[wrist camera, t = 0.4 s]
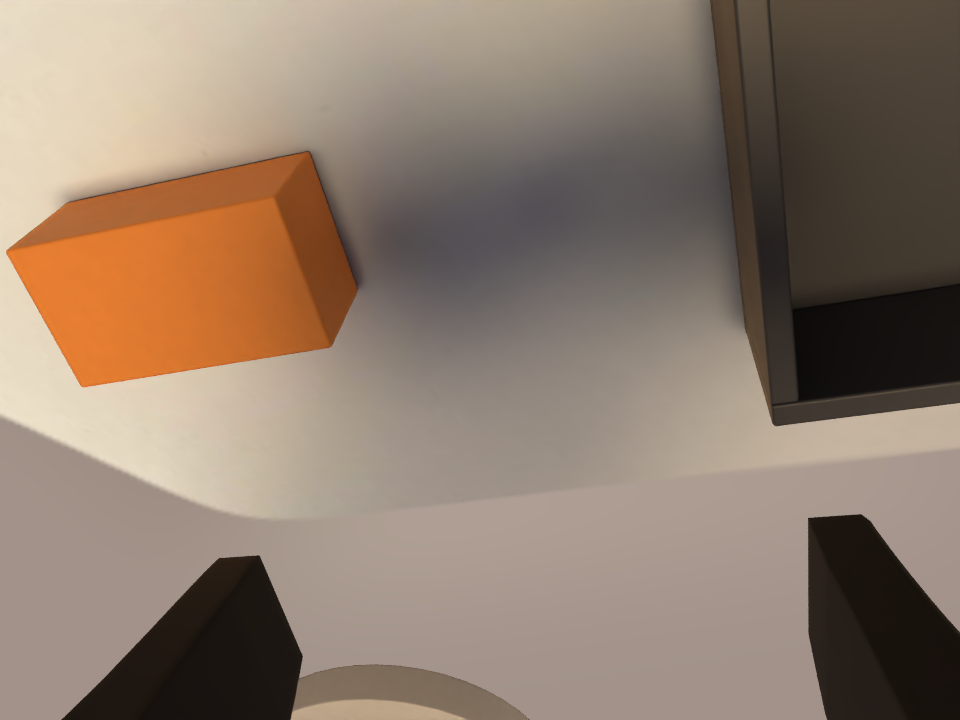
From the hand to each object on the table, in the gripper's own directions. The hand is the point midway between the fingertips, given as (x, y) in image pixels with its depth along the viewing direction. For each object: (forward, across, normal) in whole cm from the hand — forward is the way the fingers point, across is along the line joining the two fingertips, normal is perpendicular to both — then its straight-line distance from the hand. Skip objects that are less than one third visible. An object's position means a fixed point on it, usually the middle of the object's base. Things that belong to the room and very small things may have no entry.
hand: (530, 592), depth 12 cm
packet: (+13, +9, 0) cm, 16 cm away
